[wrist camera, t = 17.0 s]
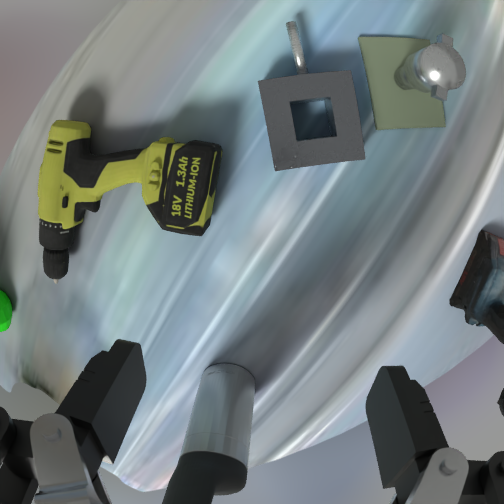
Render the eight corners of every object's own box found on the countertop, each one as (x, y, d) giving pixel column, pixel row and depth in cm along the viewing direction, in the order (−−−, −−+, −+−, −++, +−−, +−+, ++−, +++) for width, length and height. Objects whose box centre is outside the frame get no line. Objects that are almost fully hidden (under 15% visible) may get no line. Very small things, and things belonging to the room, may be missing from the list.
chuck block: (356, 156, 35) (365, 159, 31) (274, 167, 36) (275, 171, 32) (330, 25, 29) (336, 14, 25) (248, 34, 30) (245, 24, 26)
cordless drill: (189, 317, 45) (52, 267, 44) (232, 146, 36) (67, 114, 35) (176, 345, 38) (27, 285, 37) (223, 147, 29) (36, 113, 29)
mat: (443, 126, 32) (445, 127, 31) (375, 129, 33) (377, 129, 33) (427, 40, 28) (429, 39, 27) (357, 38, 29) (359, 36, 28)
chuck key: (424, 61, 28) (468, 45, 18) (417, 109, 31) (461, 107, 21) (391, 49, 28) (427, 25, 18) (384, 97, 31) (420, 89, 21)
